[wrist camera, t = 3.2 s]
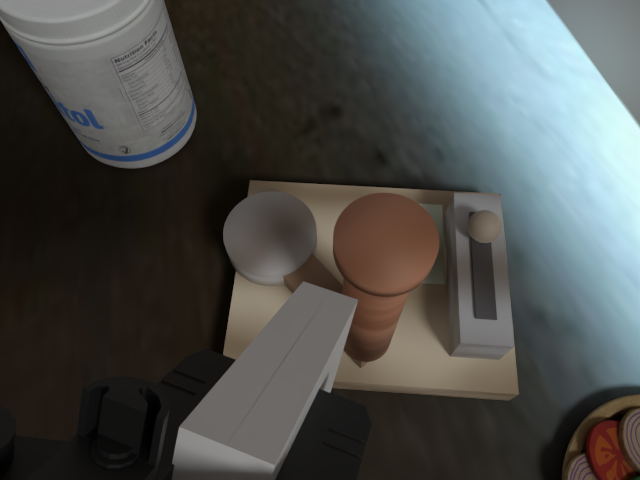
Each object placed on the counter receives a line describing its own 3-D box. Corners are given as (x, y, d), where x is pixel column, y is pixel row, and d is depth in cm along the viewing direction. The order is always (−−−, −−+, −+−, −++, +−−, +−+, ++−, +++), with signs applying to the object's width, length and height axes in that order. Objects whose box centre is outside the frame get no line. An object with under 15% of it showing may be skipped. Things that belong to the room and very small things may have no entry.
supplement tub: (57, 145, 43) (-60, -14, 30) (129, 66, 47) (52, -106, 34) (156, 192, 41) (75, 43, 28) (223, 106, 45) (179, -61, 32)
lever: (210, 241, 37) (146, 94, 24) (279, 191, 38) (254, 29, 25) (349, 401, 32) (363, 326, 19) (421, 336, 33) (479, 226, 20)
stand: (253, 194, 41) (239, 136, 35) (493, 208, 40) (523, 151, 34) (225, 380, 35) (202, 351, 28) (508, 400, 34) (550, 375, 28)
